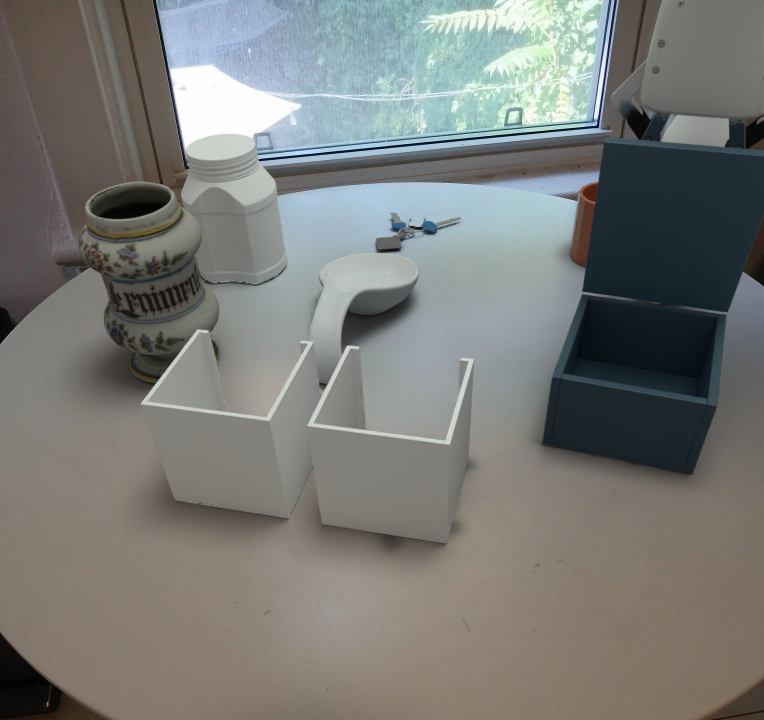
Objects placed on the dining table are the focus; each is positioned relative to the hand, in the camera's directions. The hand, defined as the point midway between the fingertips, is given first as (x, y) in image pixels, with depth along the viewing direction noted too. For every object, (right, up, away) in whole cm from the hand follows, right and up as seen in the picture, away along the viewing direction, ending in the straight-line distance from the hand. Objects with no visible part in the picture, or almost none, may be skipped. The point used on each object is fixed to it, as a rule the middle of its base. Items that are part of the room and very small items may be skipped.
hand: (679, 192), depth 66 cm
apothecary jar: (-50, -12, +16) cm, 54 cm away
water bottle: (+6, -3, +21) cm, 22 cm away
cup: (+1, +4, +28) cm, 29 cm away
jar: (-45, +3, +31) cm, 55 cm away
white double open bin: (-32, -26, +2) cm, 41 cm away
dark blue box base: (-3, -19, +6) cm, 20 cm away
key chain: (-24, +10, +36) cm, 44 cm away
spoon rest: (-30, -8, +19) cm, 36 cm away
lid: (-1, -4, -2) cm, 5 cm away
